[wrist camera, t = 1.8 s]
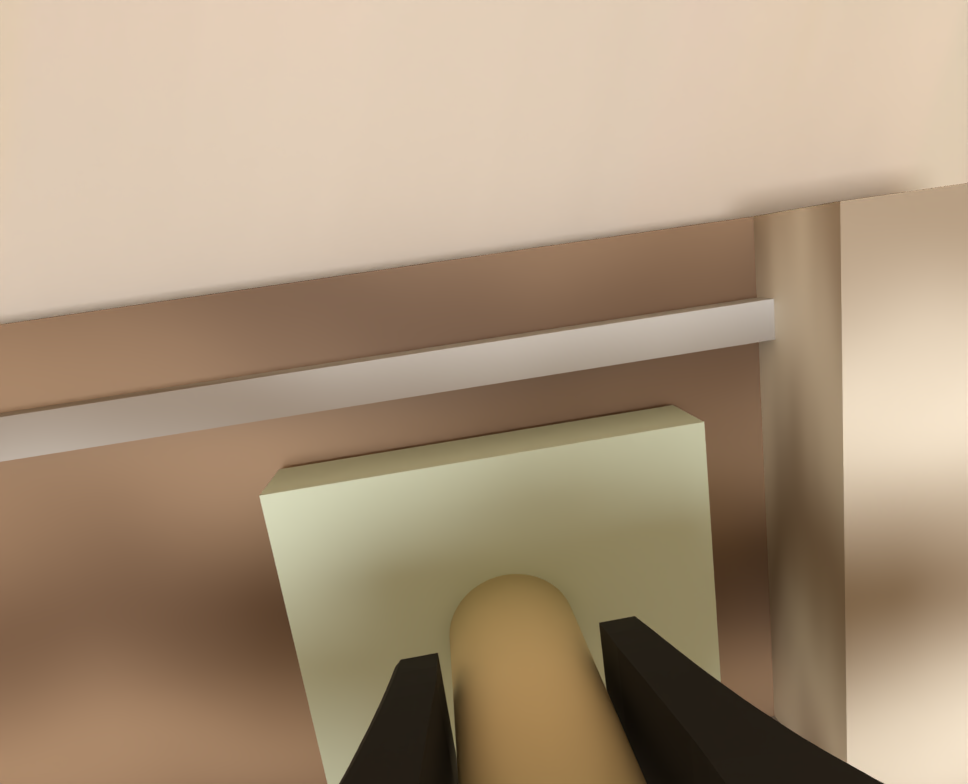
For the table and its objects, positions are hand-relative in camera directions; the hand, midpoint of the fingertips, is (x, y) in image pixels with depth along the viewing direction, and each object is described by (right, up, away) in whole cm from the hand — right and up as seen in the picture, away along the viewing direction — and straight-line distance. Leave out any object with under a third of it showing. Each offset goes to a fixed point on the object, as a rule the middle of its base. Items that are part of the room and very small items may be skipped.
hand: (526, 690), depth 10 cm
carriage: (0, +1, +3) cm, 3 cm away
